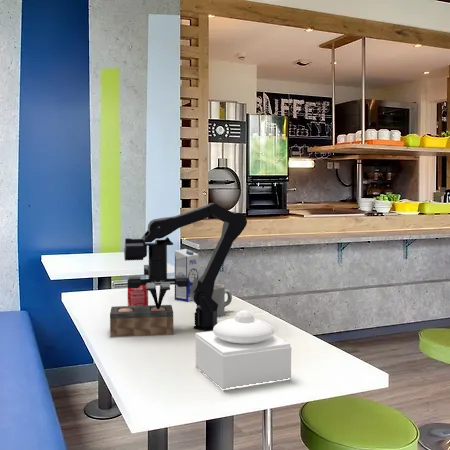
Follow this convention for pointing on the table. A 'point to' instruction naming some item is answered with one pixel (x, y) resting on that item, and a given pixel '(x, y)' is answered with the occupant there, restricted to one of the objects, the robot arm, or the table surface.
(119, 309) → the peg
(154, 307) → the peg
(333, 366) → the table surface
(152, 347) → the table surface
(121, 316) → the block
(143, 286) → the soda can
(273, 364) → the white box with knob
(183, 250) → the milk carton
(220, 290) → the coffee mug
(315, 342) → the table surface
